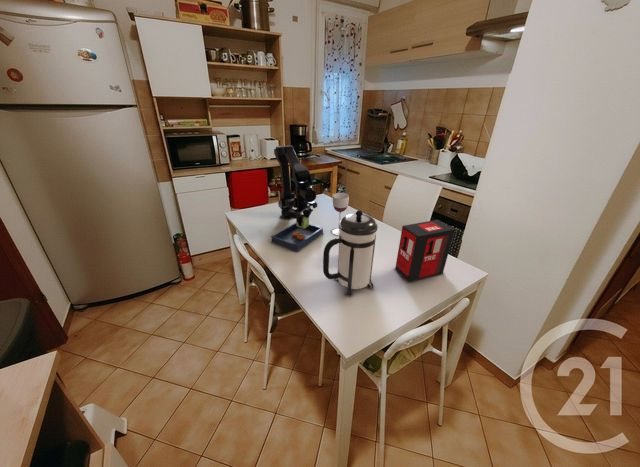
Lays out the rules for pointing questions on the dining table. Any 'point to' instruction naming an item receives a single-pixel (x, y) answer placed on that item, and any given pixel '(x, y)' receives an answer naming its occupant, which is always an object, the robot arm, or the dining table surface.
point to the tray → (291, 242)
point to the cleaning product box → (423, 249)
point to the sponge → (303, 223)
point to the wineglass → (340, 206)
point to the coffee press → (353, 251)
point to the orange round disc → (300, 237)
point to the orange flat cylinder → (295, 234)
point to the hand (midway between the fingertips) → (302, 224)
